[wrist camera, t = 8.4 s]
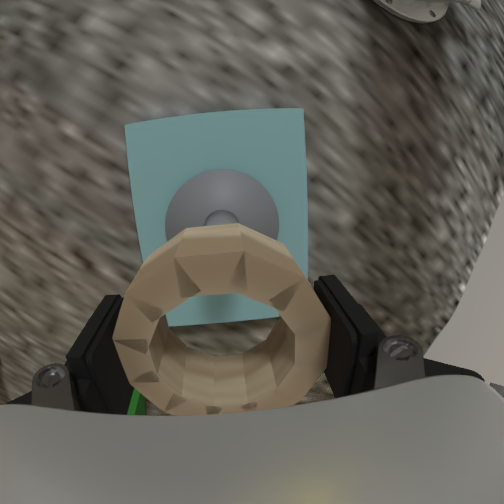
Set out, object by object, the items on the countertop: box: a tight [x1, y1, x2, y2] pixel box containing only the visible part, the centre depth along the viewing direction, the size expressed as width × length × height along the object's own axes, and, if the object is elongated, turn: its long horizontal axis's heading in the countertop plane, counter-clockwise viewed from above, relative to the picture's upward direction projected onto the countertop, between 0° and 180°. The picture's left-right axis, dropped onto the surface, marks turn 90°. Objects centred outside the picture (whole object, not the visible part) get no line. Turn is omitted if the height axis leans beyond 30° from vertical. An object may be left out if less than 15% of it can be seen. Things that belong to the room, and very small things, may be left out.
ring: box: [112, 223, 331, 416], centre depth 11 cm, size 7×7×3 cm
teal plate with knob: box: [125, 108, 308, 326], centre depth 22 cm, size 14×18×8 cm
